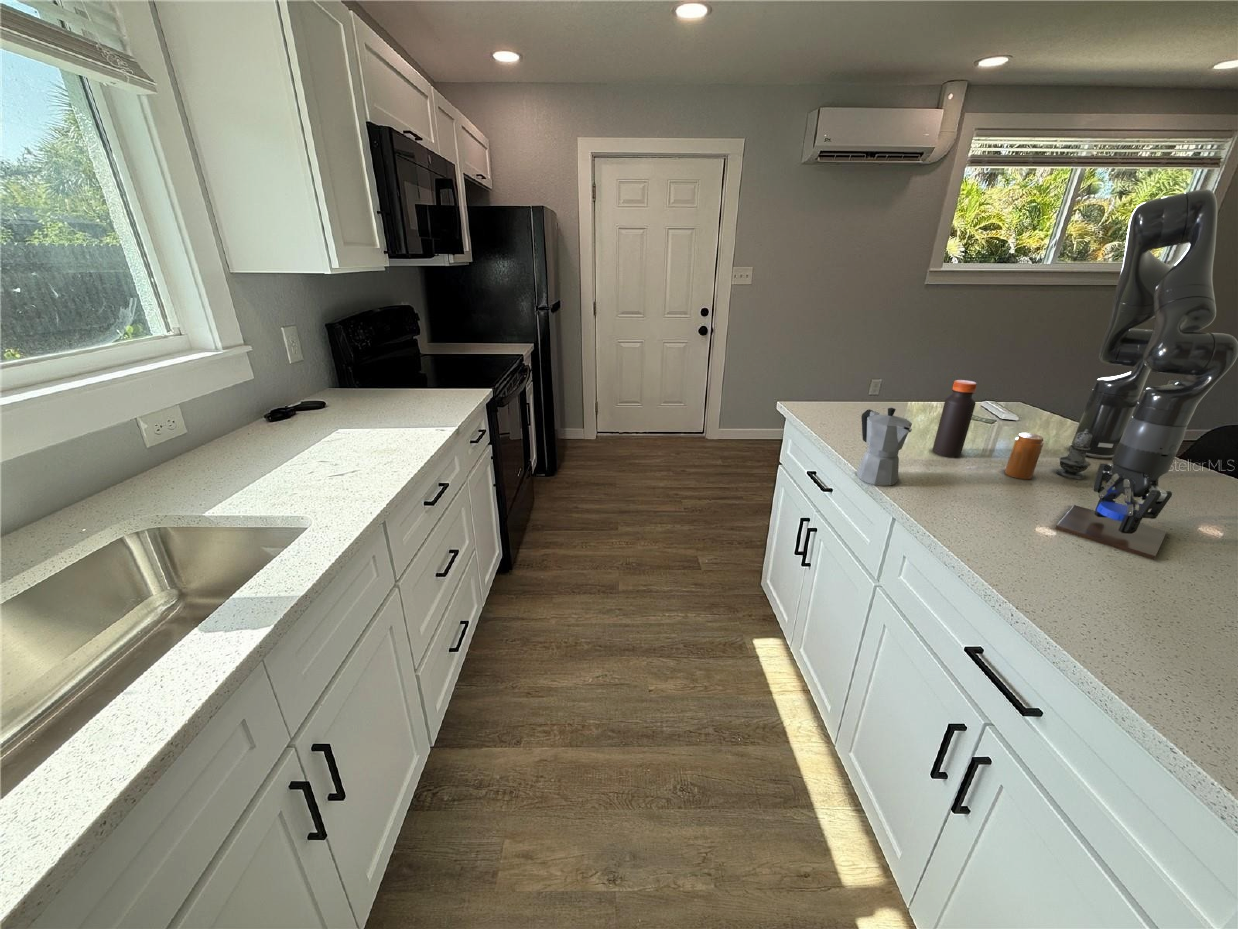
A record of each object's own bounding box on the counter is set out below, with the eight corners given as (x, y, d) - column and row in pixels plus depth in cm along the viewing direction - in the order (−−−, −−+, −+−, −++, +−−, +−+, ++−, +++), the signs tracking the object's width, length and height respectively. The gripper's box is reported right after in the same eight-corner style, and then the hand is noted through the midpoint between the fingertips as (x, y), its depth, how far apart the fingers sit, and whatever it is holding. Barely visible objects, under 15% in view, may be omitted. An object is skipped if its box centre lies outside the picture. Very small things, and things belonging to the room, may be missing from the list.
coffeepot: (913, 487, 115) (931, 414, 108) (878, 491, 114) (895, 417, 107) (868, 463, 129) (882, 396, 122) (837, 466, 127) (849, 399, 120)
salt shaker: (1091, 480, 119) (1110, 433, 114) (1063, 478, 120) (1081, 432, 115) (1075, 470, 124) (1093, 425, 119) (1049, 468, 125) (1065, 424, 120)
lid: (1102, 505, 99) (1105, 498, 98) (1141, 518, 95) (1144, 511, 94) (1092, 512, 96) (1095, 505, 96) (1131, 525, 92) (1135, 518, 91)
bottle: (934, 455, 134) (953, 384, 126) (930, 447, 140) (947, 378, 132) (963, 459, 131) (984, 386, 124) (957, 450, 137) (977, 380, 129)
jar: (1008, 468, 125) (1021, 431, 121) (1034, 475, 122) (1048, 436, 118) (1001, 474, 122) (1014, 435, 118) (1027, 481, 118) (1041, 441, 115)
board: (1072, 508, 106) (1074, 504, 105) (1165, 534, 96) (1167, 530, 95) (1055, 528, 98) (1056, 525, 97) (1153, 559, 88) (1155, 556, 87)
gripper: (1096, 430, 97) (1066, 506, 103) (1158, 457, 84) (1119, 542, 90) (1140, 432, 95) (1107, 508, 102) (1209, 460, 82) (1166, 545, 89)
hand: (1113, 524), depth 96 cm, fingers closed on lid, 5 cm apart
